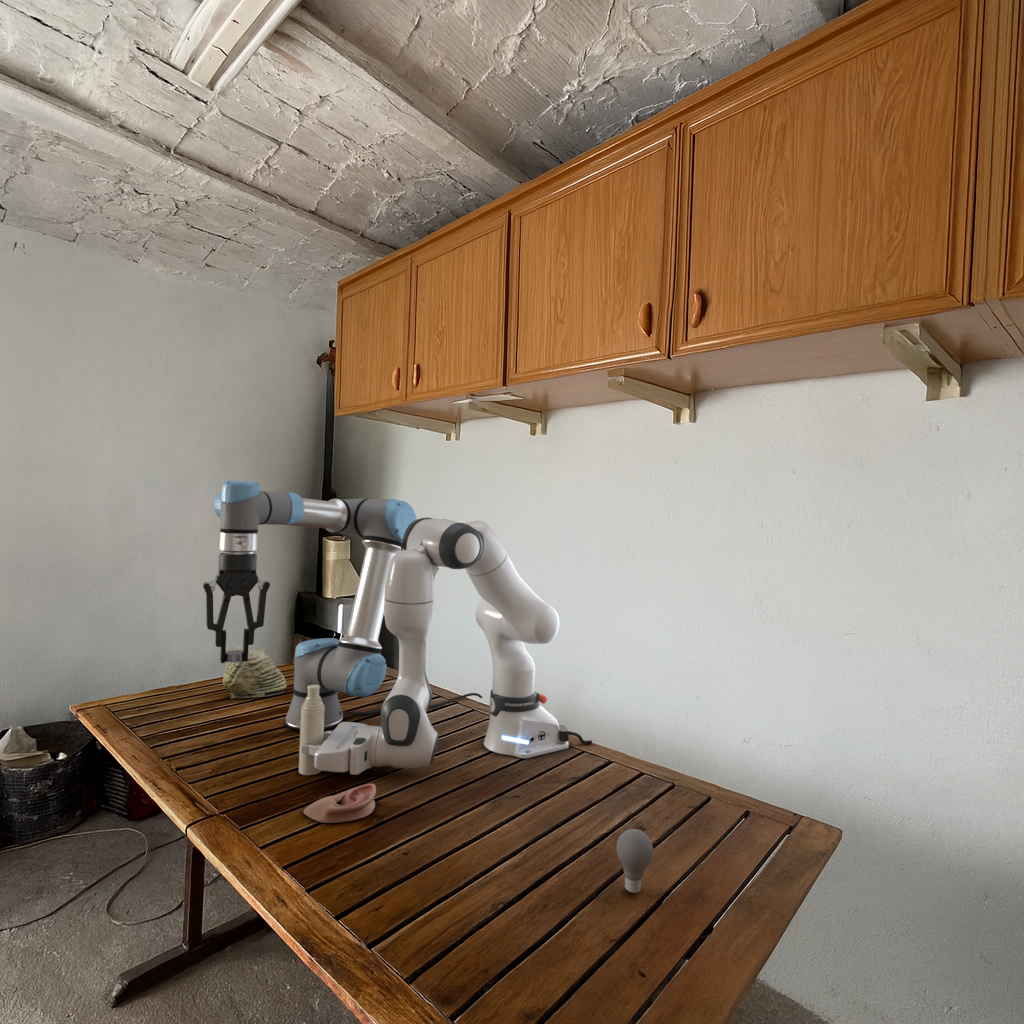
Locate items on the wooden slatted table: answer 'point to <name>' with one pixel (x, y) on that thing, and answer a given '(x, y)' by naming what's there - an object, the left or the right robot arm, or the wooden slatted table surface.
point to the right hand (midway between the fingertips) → (307, 742)
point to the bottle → (311, 728)
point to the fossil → (253, 676)
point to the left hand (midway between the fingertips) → (234, 660)
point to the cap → (234, 656)
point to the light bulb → (634, 857)
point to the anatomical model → (343, 805)
